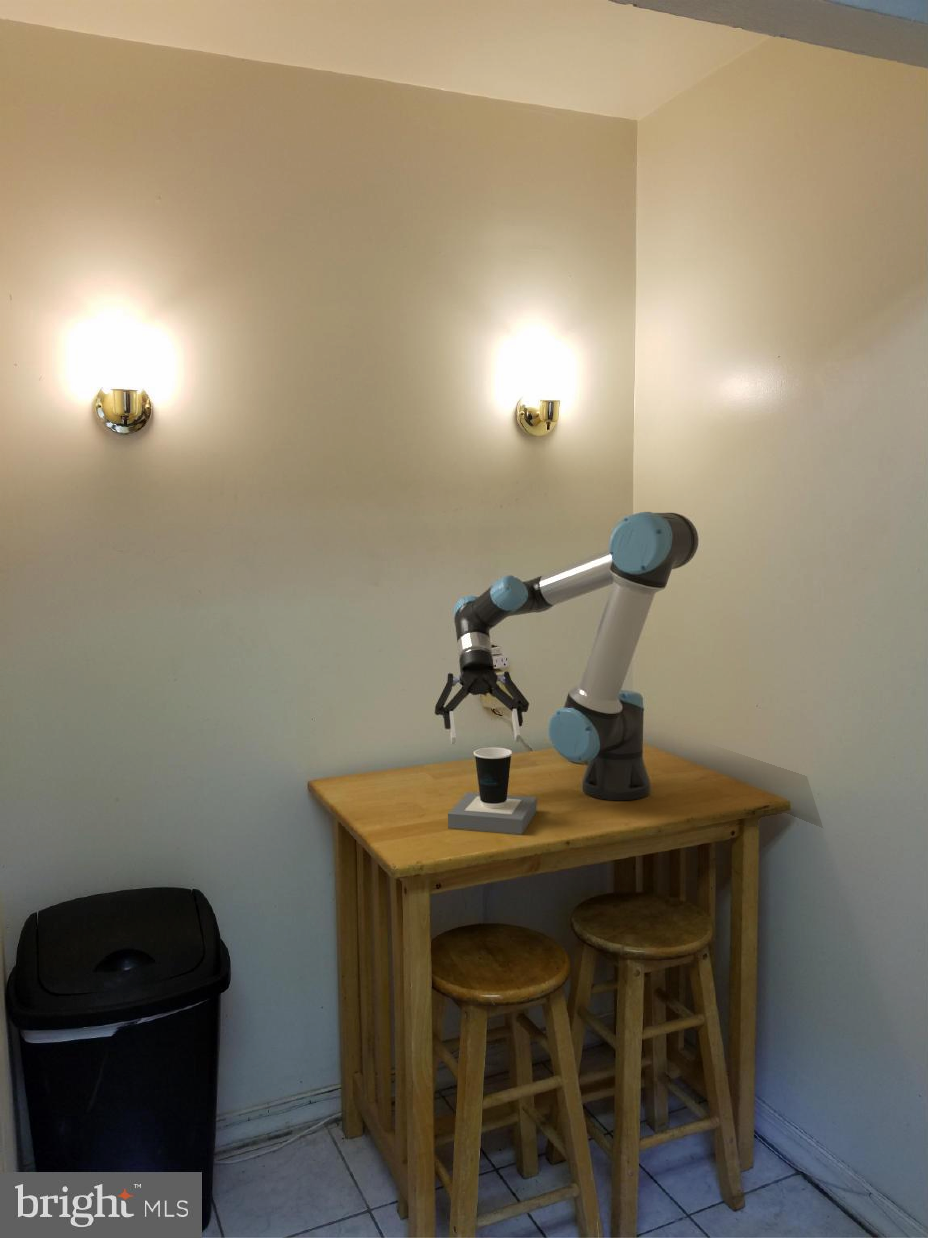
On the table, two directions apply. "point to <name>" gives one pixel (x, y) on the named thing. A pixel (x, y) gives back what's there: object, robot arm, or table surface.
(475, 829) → the plinth
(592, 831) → the table surface
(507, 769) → the dixie cup
